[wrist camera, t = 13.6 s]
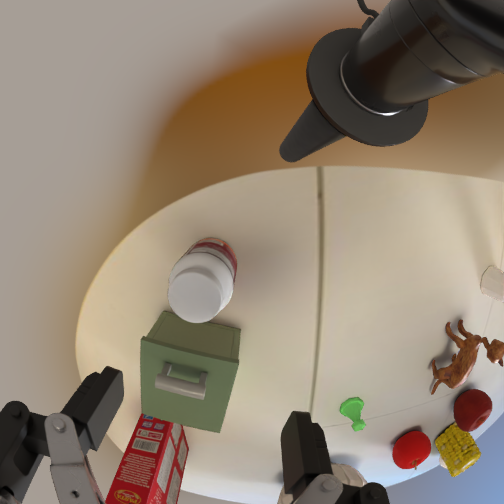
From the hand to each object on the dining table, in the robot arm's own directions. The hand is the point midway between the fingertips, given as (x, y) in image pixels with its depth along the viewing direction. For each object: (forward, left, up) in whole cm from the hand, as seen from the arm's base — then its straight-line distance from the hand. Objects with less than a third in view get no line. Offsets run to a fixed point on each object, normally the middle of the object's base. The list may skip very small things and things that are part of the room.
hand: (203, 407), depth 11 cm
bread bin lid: (+14, -3, -15) cm, 21 cm away
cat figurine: (+9, +39, -23) cm, 46 cm away
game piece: (+21, +24, -23) cm, 39 cm away
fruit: (+33, +45, -23) cm, 60 cm away
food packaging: (+34, -6, -23) cm, 41 cm away
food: (+35, +63, -23) cm, 76 cm away
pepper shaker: (-6, +43, -23) cm, 49 cm away
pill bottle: (0, -3, -23) cm, 23 cm away
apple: (+21, +56, -23) cm, 64 cm away
